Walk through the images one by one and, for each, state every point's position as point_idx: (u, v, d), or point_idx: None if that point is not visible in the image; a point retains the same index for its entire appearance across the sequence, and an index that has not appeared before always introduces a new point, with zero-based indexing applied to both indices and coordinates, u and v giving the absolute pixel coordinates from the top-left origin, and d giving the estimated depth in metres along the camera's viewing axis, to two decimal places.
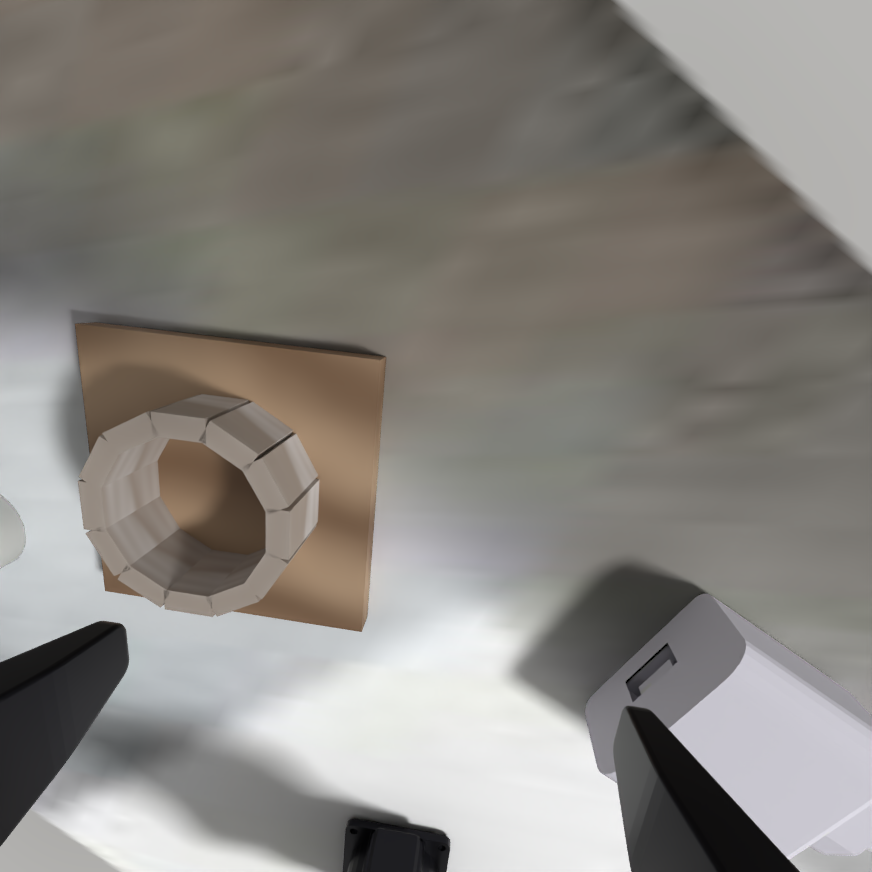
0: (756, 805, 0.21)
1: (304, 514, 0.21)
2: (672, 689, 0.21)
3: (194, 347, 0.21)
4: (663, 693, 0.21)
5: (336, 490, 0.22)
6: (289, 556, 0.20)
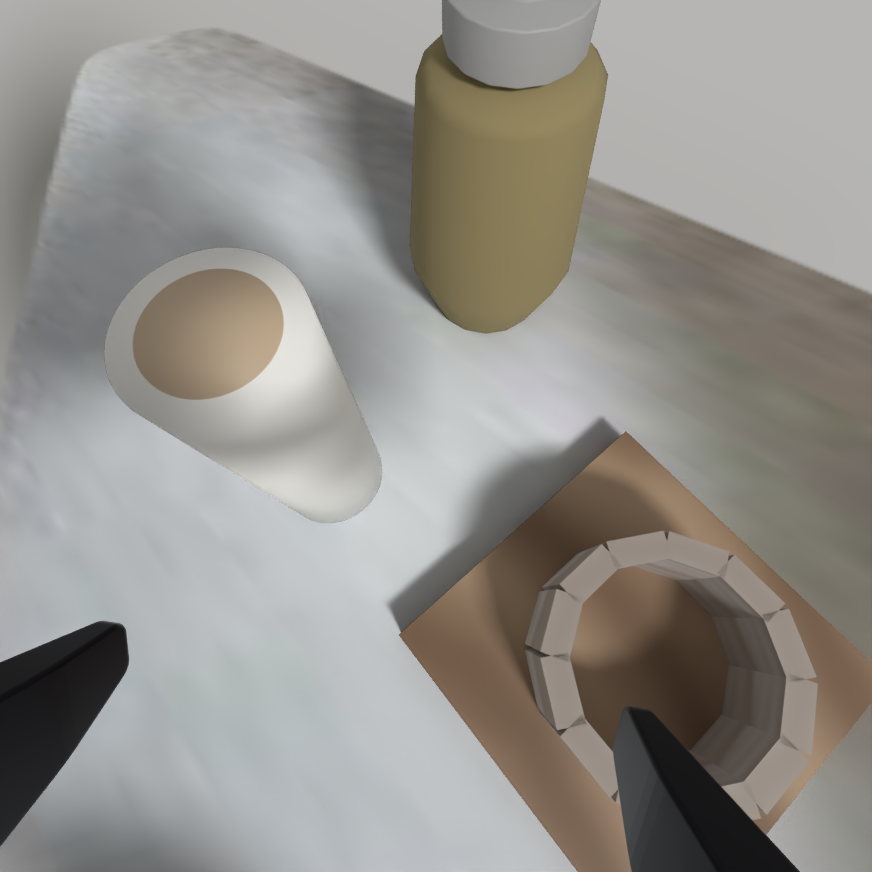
0: None
1: None
2: None
3: (714, 526, 0.21)
4: None
5: None
6: (767, 810, 0.15)
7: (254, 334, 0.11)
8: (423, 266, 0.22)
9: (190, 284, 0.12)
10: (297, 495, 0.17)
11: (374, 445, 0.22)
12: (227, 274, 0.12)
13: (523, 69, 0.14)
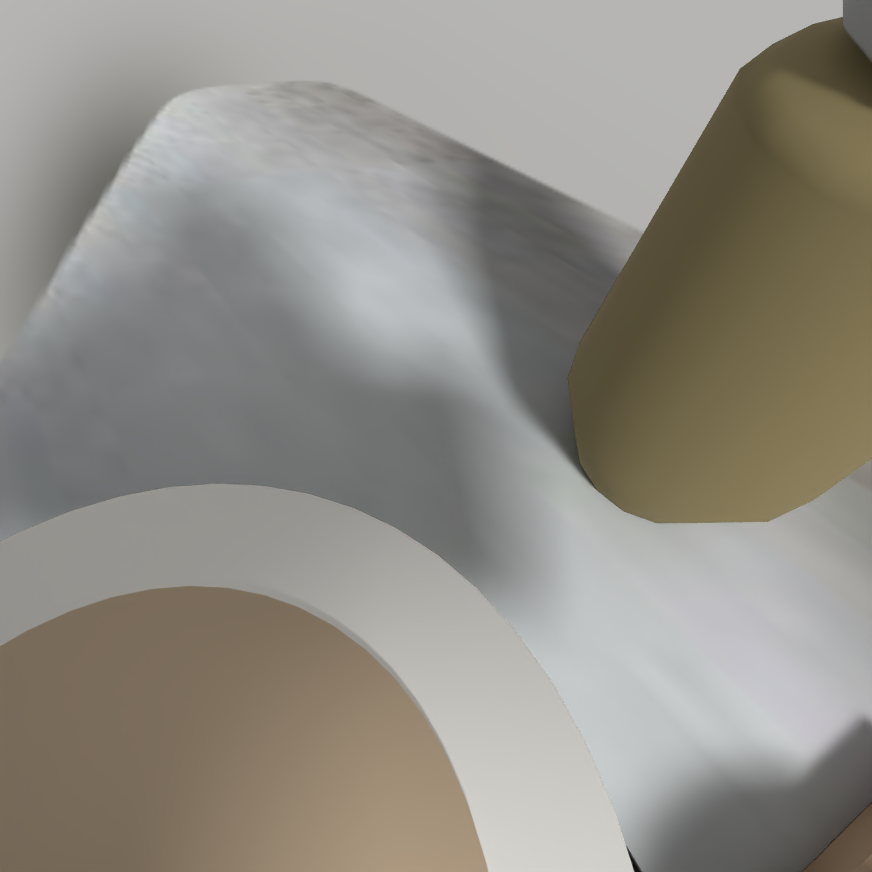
0: None
1: None
2: None
3: None
4: None
5: None
6: None
7: None
8: (600, 423, 0.13)
9: (105, 649, 0.03)
10: None
11: None
12: (266, 626, 0.03)
13: None
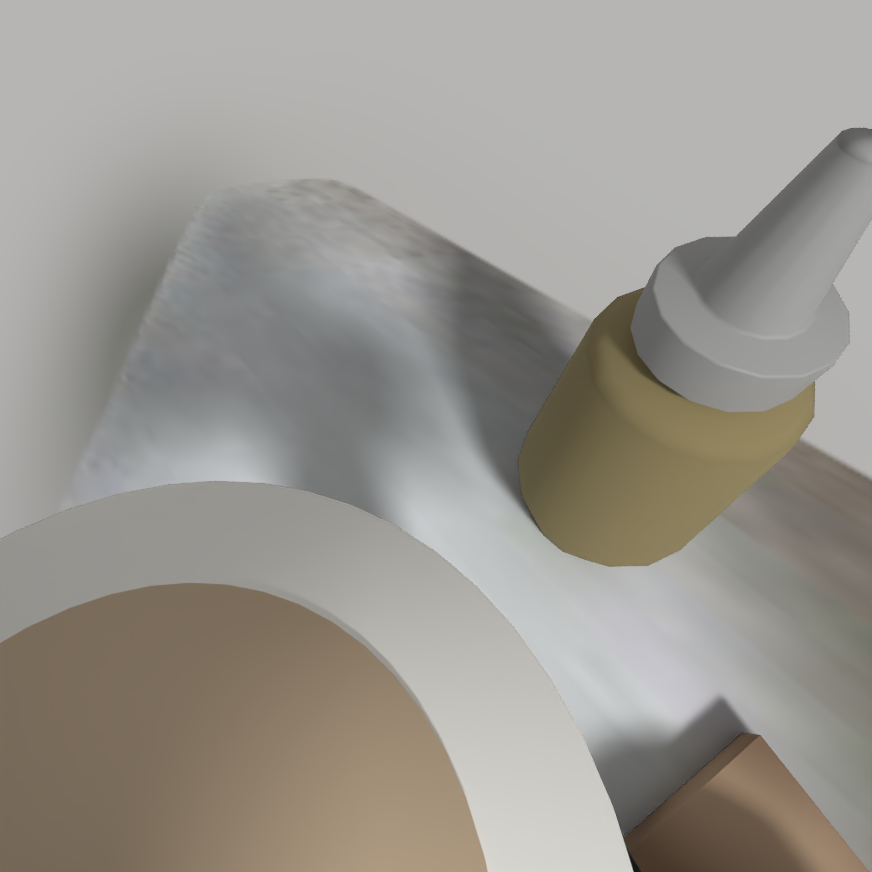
0: None
1: None
2: None
3: None
4: None
5: None
6: None
7: None
8: (535, 499, 0.19)
9: (107, 646, 0.03)
10: None
11: None
12: (266, 622, 0.03)
13: (742, 400, 0.11)
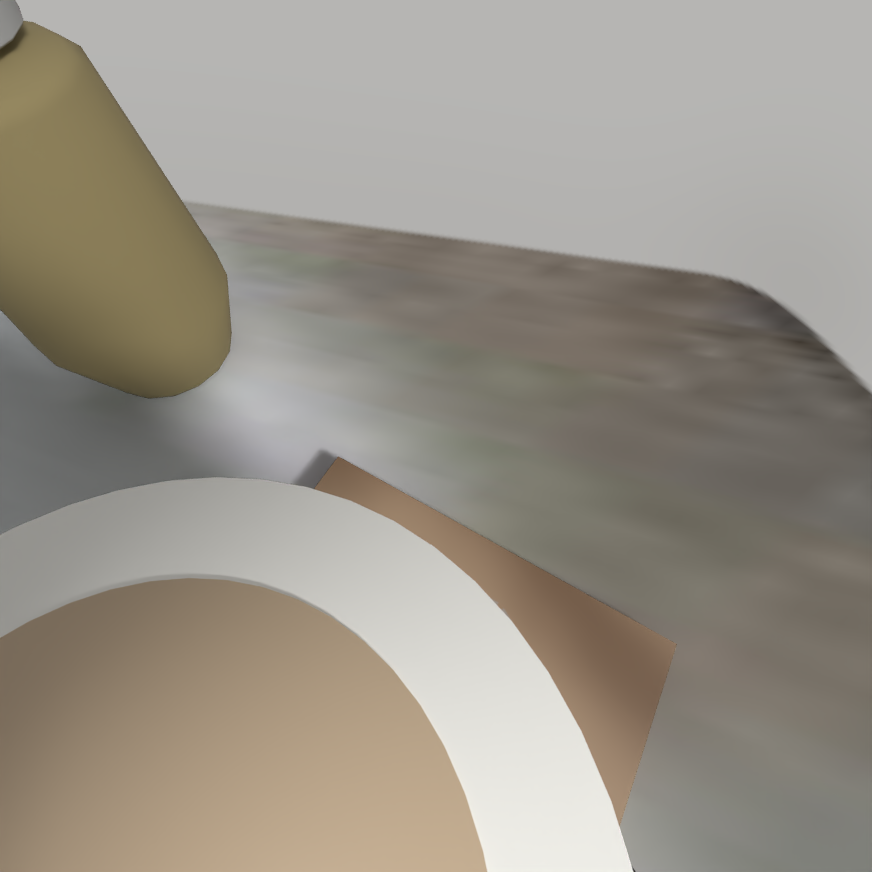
0: None
1: None
2: None
3: (453, 532, 0.18)
4: None
5: None
6: None
7: None
8: (28, 337, 0.18)
9: (105, 641, 0.03)
10: None
11: None
12: (265, 617, 0.03)
13: None
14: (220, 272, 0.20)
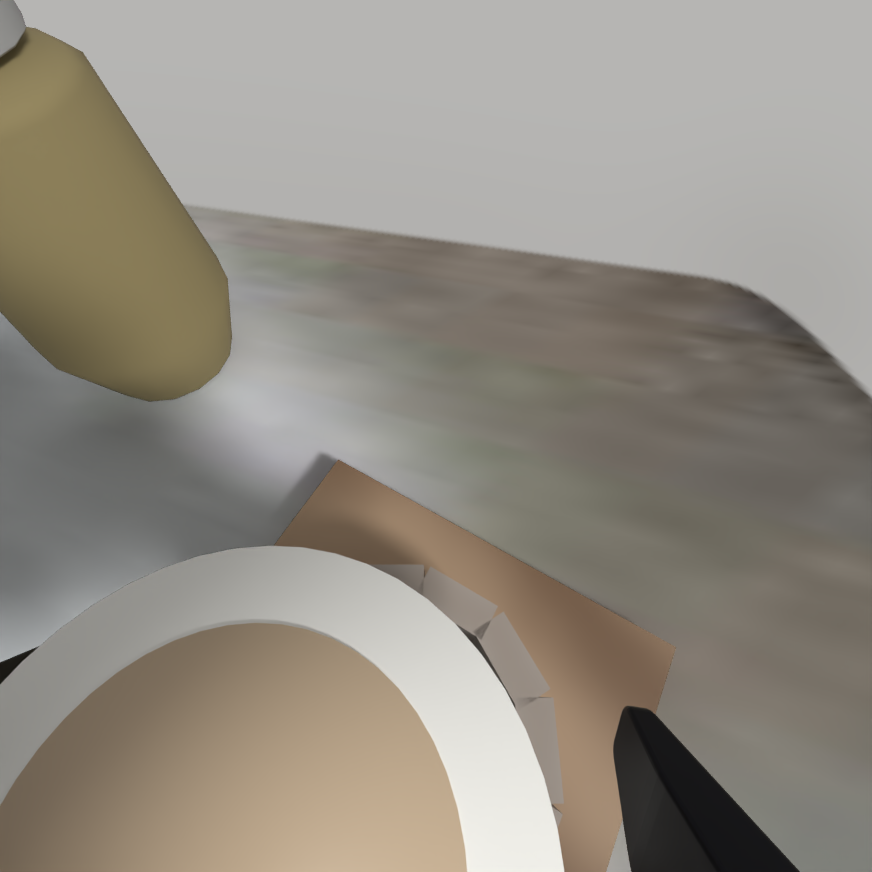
0: None
1: None
2: None
3: (453, 535, 0.18)
4: None
5: None
6: None
7: None
8: (29, 341, 0.18)
9: (198, 668, 0.04)
10: None
11: None
12: (309, 651, 0.04)
13: None
14: (221, 276, 0.20)
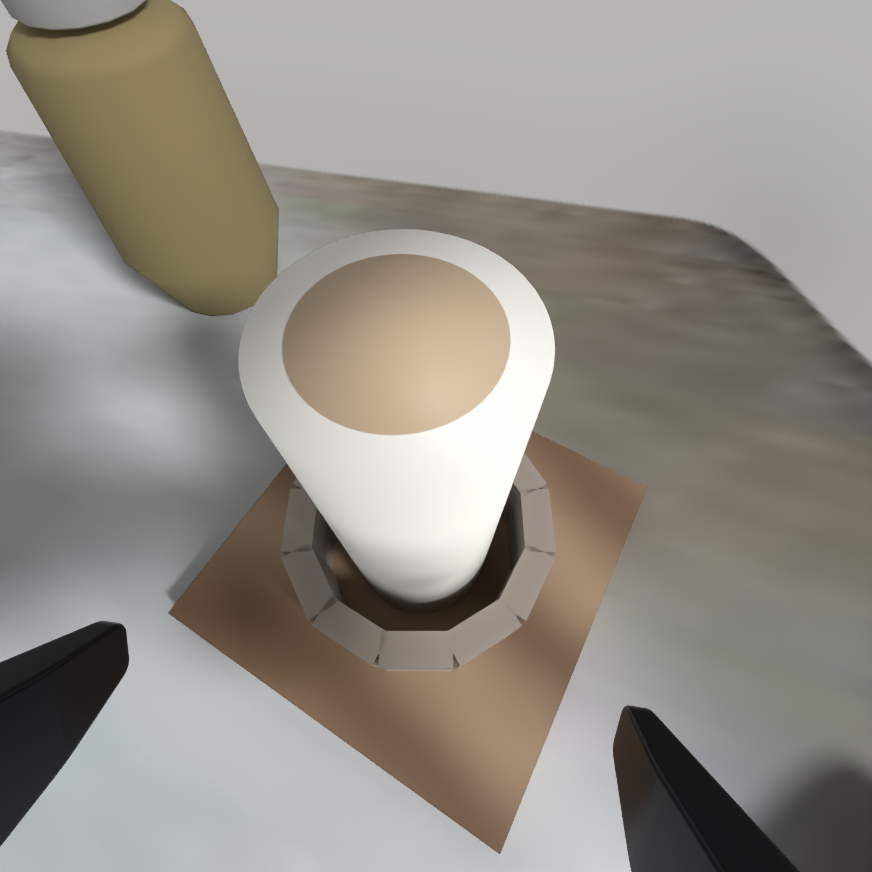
0: None
1: None
2: None
3: None
4: None
5: (551, 601, 0.18)
6: (527, 617, 0.15)
7: (467, 349, 0.07)
8: (124, 252, 0.22)
9: (374, 270, 0.08)
10: (408, 581, 0.13)
11: None
12: (428, 263, 0.08)
13: (71, 6, 0.15)
14: (274, 205, 0.24)
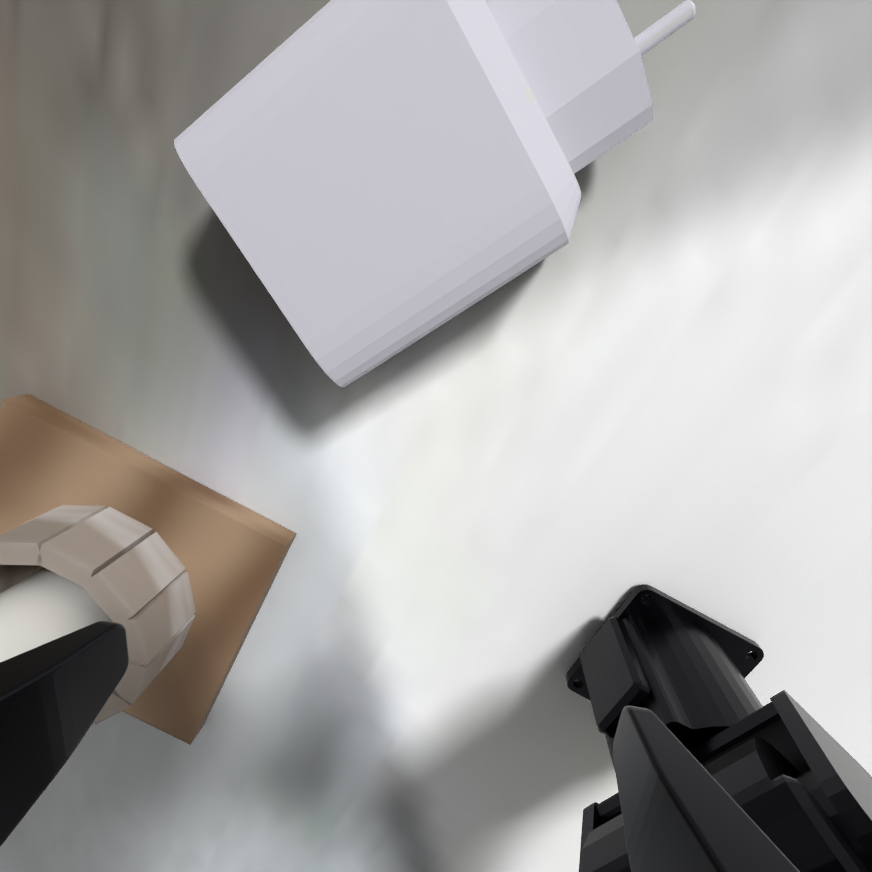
0: (418, 192, 0.14)
1: (96, 535, 0.20)
2: None
3: None
4: None
5: (123, 496, 0.22)
6: (91, 568, 0.19)
7: None
8: None
9: None
10: None
11: None
12: None
13: None
14: None
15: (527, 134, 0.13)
